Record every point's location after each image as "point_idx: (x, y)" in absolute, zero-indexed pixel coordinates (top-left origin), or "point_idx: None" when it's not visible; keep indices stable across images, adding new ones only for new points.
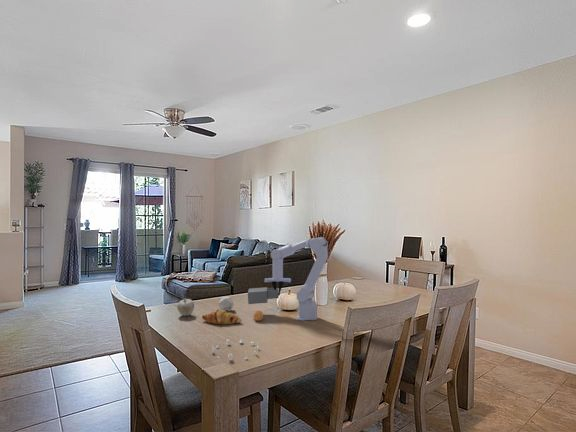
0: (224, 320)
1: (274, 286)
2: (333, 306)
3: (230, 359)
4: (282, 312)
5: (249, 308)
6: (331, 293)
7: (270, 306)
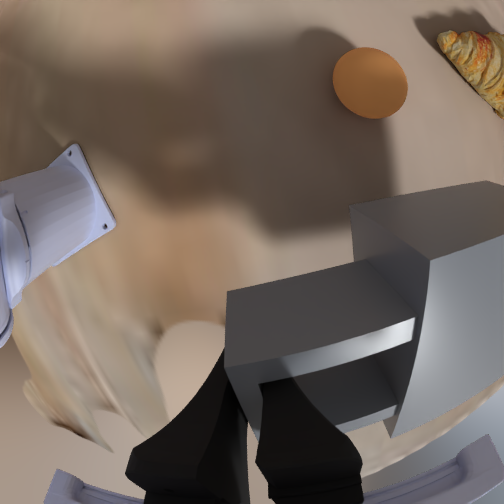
0: (494, 32)
1: (300, 423)
2: (59, 388)
3: None
4: None
5: None
6: None
7: None
